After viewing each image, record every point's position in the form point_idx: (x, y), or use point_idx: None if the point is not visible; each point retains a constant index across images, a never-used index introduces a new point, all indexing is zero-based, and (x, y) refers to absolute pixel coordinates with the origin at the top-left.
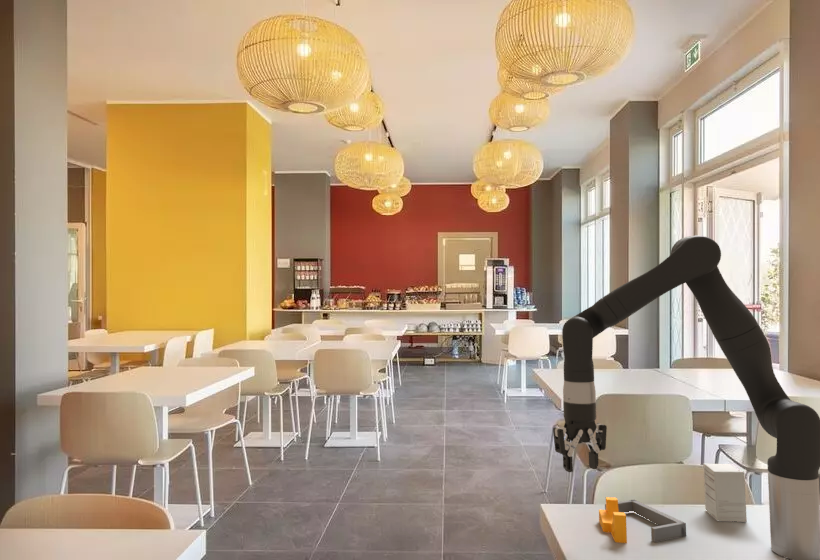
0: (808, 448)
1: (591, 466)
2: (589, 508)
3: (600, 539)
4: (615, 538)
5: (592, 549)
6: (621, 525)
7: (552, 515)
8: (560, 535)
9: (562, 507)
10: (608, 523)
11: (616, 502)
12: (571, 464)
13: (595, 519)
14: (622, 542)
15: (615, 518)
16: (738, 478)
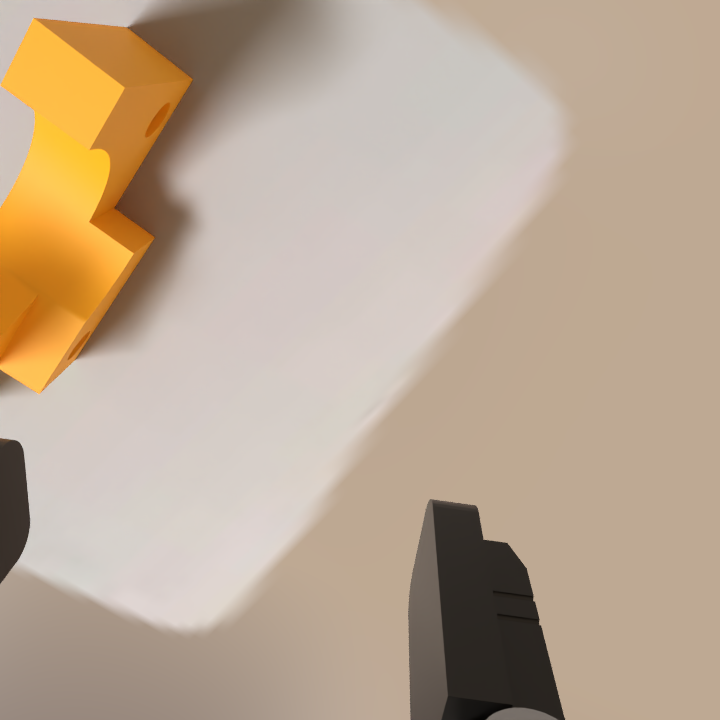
0: None
1: (15, 510)
2: None
3: (250, 164)
4: (183, 78)
5: (410, 74)
6: (109, 48)
7: (271, 538)
8: (431, 329)
9: (145, 584)
10: (103, 230)
11: None
12: (462, 576)
13: (75, 392)
14: (151, 47)
15: (129, 80)
16: None
